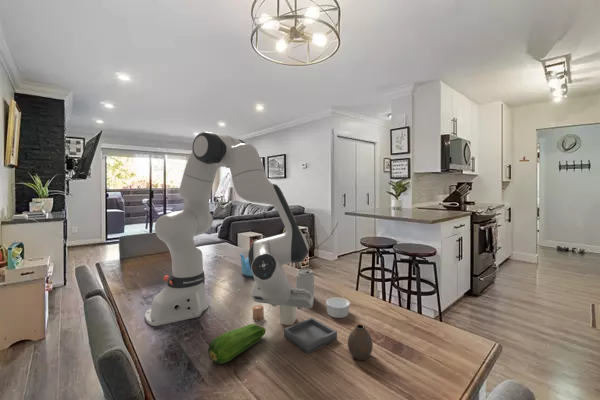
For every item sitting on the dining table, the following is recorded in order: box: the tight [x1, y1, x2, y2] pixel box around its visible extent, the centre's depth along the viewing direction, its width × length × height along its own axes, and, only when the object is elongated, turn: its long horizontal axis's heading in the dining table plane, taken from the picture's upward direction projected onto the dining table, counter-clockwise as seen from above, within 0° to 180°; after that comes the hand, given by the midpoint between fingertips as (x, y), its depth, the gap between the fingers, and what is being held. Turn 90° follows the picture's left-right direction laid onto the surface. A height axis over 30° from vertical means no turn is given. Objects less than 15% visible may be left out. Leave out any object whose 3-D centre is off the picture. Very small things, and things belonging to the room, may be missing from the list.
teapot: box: [238, 252, 254, 278], centre depth 152 cm, size 15×15×10 cm
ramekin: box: [325, 297, 351, 319], centre depth 107 cm, size 9×9×4 cm
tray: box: [283, 317, 338, 355], centre depth 90 cm, size 12×12×2 cm
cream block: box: [279, 305, 297, 326], centre depth 101 cm, size 4×4×9 cm
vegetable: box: [207, 323, 267, 365], centre depth 84 cm, size 7×7×20 cm
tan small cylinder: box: [252, 304, 265, 322], centre depth 104 cm, size 4×4×4 cm
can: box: [295, 268, 315, 298], centre depth 120 cm, size 8×8×12 cm
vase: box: [347, 324, 374, 361], centre depth 81 cm, size 7×7×9 cm
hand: (287, 305), depth 100 cm, fingers open, 8 cm apart
